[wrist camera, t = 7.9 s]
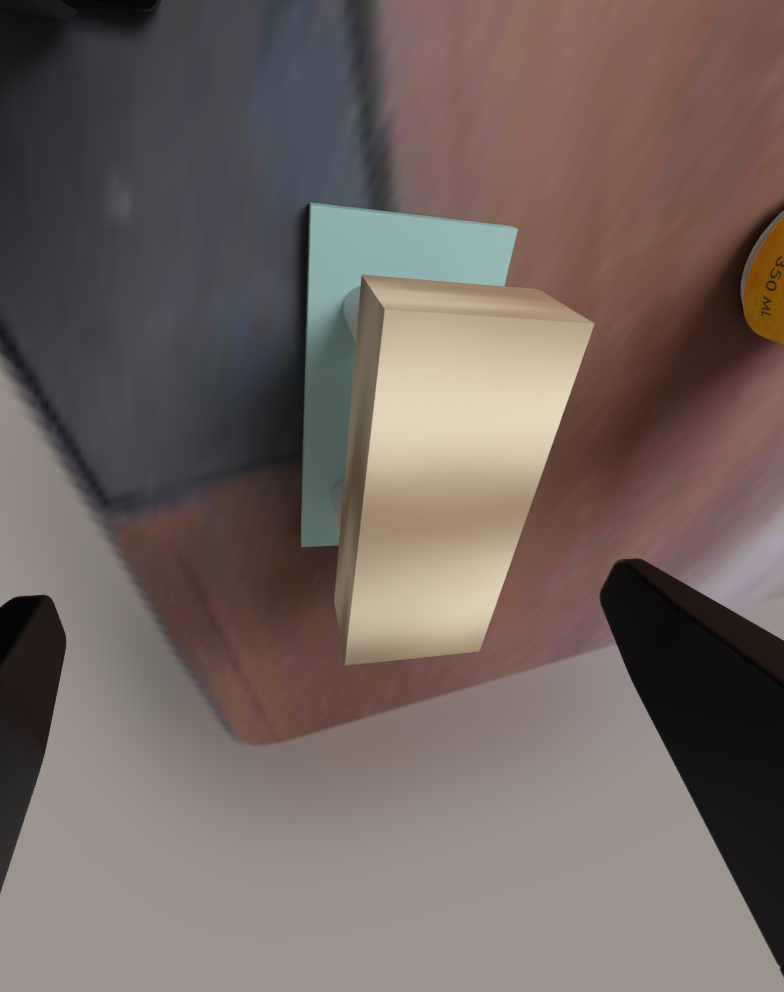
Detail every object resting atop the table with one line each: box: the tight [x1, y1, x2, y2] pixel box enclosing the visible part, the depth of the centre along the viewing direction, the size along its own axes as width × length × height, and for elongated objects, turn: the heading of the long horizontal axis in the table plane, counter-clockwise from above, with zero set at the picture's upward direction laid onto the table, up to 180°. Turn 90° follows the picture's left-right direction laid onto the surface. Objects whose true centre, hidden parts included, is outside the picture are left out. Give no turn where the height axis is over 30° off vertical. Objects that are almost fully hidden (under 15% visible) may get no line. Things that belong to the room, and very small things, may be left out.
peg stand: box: [301, 202, 518, 547], centre depth 19 cm, size 14×7×5 cm, turn 172°
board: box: [334, 275, 594, 665], centre depth 16 cm, size 12×5×3 cm, turn 172°
